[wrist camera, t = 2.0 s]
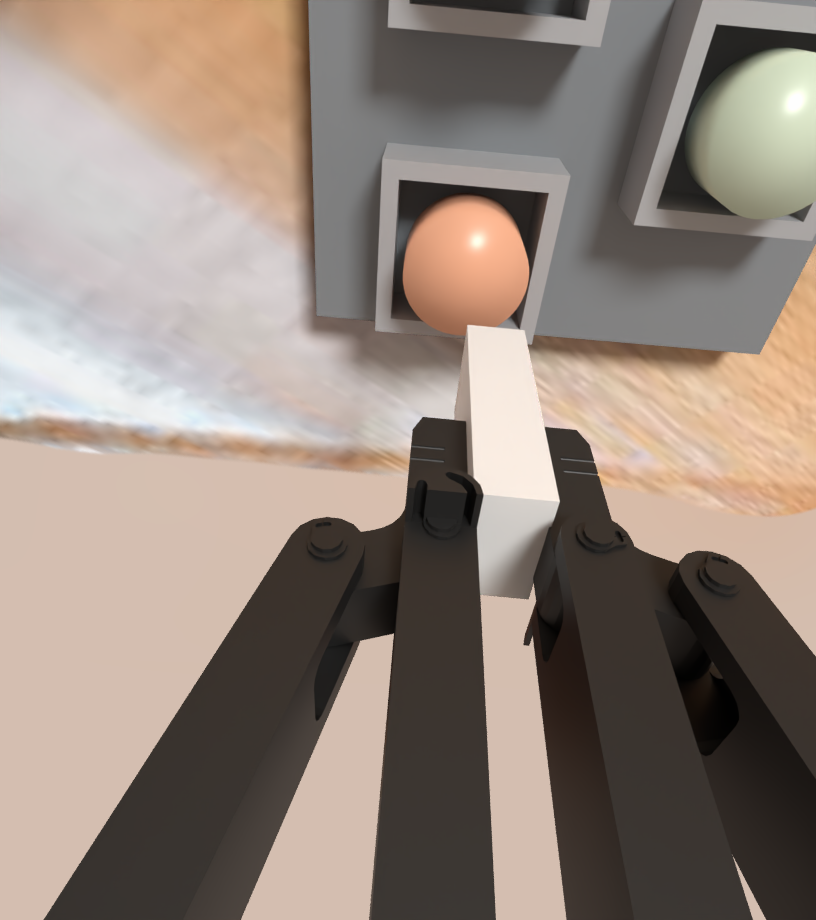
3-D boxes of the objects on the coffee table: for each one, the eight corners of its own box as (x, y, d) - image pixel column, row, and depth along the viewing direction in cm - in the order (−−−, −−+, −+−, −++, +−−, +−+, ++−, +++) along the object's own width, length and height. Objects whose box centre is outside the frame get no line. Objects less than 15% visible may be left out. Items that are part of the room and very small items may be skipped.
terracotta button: (402, 302, 24) (398, 330, 22) (410, 187, 21) (407, 207, 19) (510, 312, 24) (515, 340, 22) (532, 198, 21) (541, 219, 19)
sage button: (665, 192, 21) (687, 213, 19) (715, 40, 18) (746, 47, 16) (788, 203, 21) (822, 225, 19) (857, 53, 18) (904, 62, 16)
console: (323, 297, 28) (306, 342, 25) (312, -311, 17) (278, -386, 13) (741, 333, 28) (784, 383, 25) (1014, -239, 17) (1163, -295, 13)
